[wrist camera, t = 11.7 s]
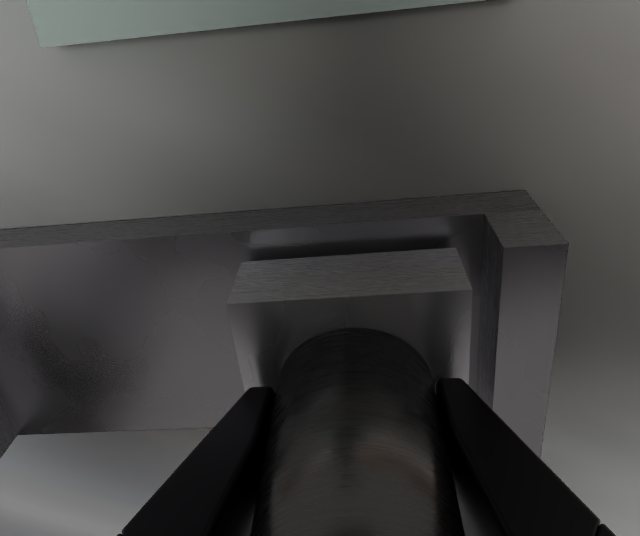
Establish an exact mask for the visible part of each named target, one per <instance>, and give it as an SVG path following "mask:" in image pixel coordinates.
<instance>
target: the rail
mask: <svg viewBox="0 0 640 536" xmlns="http://www.w3.org/2000/svg"><path fill="white" fill-rule="evenodd" d="M568 245H569V243H568V242H567V241H566V240H565V238H564V237H563V236H562V235H561V234H560V232H559V231H558V230H557V229H556V227H555V226H554V225H553V224H552V222H551V221H550V220H549V219H548V218H547V216H546V215H545V214H544V213H543V211H542V210H541V209H540V208H539V207H538V205H537V204H536V203H535V202H534V200H533V199H532V198H531V197H530V195H529V194H528V193H527V192H526V191H525V190H522V191H509V192H495V193H482V194H469V195H456V196H442V197H429V198H416V199H403V200H389V201H376V202H363V203H349V204H336V205H323V206H310V207H296V208H283V209H270V210H257V211H243V212H230V213H217V214H203V215H190V216H177V217H164V218H150V219H137V220H124V221H111V222H97V223H84V224H71V225H57V226H44V227H31V228H18V229H4V230H0V458H1V457H2V456H3V454H4V453H5V451H6V450H7V449H8V447H9V446H10V444H11V443H12V442H13V440H14V439H15V438H16V436H17V435H28V434H54V433H80V432H107V431H133V430H159V429H185V428H211V427H215V425H216V424H217V423H218V422H219V421H220V420H221V419H222V418H223V417H224V415H225V414H226V413H227V412H228V411H229V410H230V409H231V408H232V406H233V405H234V404H235V403H236V402H237V401H238V400H239V399H240V397H241V396H242V395H243V394H244V393H245V390H244V386H243V381H242V376H241V372H240V367H239V363H238V358H237V353H236V349H235V344H234V339H233V335H232V330H231V326H230V321H229V316H228V312H227V307H226V303H227V300H228V297H229V295H230V292H231V289H232V287H233V284H234V281H235V279H236V276H237V273H238V271H239V268H240V266H241V263H242V262H246V261H261V260H276V259H291V258H306V257H321V256H336V255H351V254H366V253H381V252H396V251H411V250H426V249H441V248H456V249H457V251H458V254H459V256H460V259H461V262H462V264H463V267H464V269H465V272H466V275H467V277H468V280H469V282H470V285H471V287H472V311H471V336H470V361H469V386H470V387H471V388H472V389H473V390H474V391H475V392H476V394H477V395H478V396H479V397H480V398H481V399H482V400H483V401H484V402H485V403H486V404H487V405H488V406H489V407H490V408H491V409H492V410H493V411H494V412H495V413H496V414H497V415H498V416H499V417H500V418H501V419H502V420H503V421H504V422H505V423H506V424H507V425H508V426H509V427H510V428H511V429H512V430H513V431H514V432H515V433H516V434H517V435H518V436H519V437H520V439H521V440H522V441H523V442H524V443H525V444H526V445H527V446H528V447H529V448H530V449H531V450H532V451H533V452H534V453H535V454H536V455H537V456H538V457H539V458H540V456H541V449H542V441H543V434H544V426H545V419H546V411H547V403H548V396H549V388H550V381H551V373H552V366H553V358H554V350H555V343H556V335H557V328H558V320H559V313H560V305H561V297H562V290H563V282H564V275H565V267H566V260H567V252H568Z"/></svg>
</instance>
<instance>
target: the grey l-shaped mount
mask: <svg viewBox="0 0 640 536" xmlns="http://www.w3.org/2000/svg"><path fill="white" fill-rule="evenodd" d="M475 1H484V0H26V2H27V6H28V9H29V12H30V15H31V18H32V21H33V24H34V27H35V30H36V33H37V37H38V40H39V43H40V46H41V48H46V47H55V46H65V45H74V44H83V43H93V42H102V41H111V40H121V39H130V38H139V37H148V36H158V35H167V34H176V33H186V32H195V31H204V30H214V29H223V28H232V27H242V26H251V25H260V24H270V23H279V22H288V21H298V20H307V19H316V18H325V17H335V16H344V15H353V14H363V13H372V12H381V11H391V10H400V9H409V8H419V7H428V6H437V5H447V4H456V3H465V2H475Z"/></svg>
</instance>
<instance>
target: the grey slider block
mask: <svg viewBox="0 0 640 536" xmlns="http://www.w3.org/2000/svg"><path fill="white" fill-rule="evenodd" d="M226 307H227V312H228V316H229V321H230V326H231V330H232V335H233V339H234V344H235V349H236V353H237V358H238V363H239V367H240V372H241V376H242V381H243V386H244V390H245V392H246V391H247V390H248V389H249V388H251V387H262V386H270V387H272V388H273V390H274V393H275V399H274V405H273V410H272V416H271V422H270V427H269V433H268V438H267V444H266V450H265V455H264V461H263V466H262V472H261V478H260V483H259V489H258V494H257V500H256V506H255V511H254V517H253V522H252V528H251V534H250V536H465V532H464V527H463V523H462V518H461V513H460V508H459V503H458V498H457V493H456V488H455V484H454V479H453V474H452V469H451V464H450V459H449V454H448V449H447V445H446V440H445V435H444V430H443V425H442V420H441V415H440V410H439V406H438V401H437V396H436V383H437V381H438V379H441V378H461V379H463V380H464V381H465V382H466V383H467V384H468V385H469V361H470V336H471V311H472V287H471V285H470V282H469V280H468V277H467V275H466V272H465V269H464V267H463V264H462V262H461V259H460V256H459V254H458V251H457V249H456V248H441V249H426V250H411V251H396V252H381V253H366V254H351V255H336V256H321V257H306V258H291V259H276V260H261V261H246V262H242V263H241V266H240V268H239V271H238V273H237V276H236V279H235V281H234V284H233V287H232V289H231V292H230V295H229V297H228V300H227V303H226Z"/></svg>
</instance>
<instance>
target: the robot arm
mask: <svg viewBox="0 0 640 536" xmlns="http://www.w3.org/2000/svg"><path fill="white" fill-rule="evenodd" d="M436 396H437V401H438V406H439V410H440V415H441V420H442V425H443V430H444V435H445V440H446V445H447V449H448V454H449V459H450V464H451V469H452V474H453V479H454V484H455V488H456V493H457V498H458V503H459V508H460V513H461V518H462V523H463V527H464V532H465V536H616V535H615V534H614V533H613V532H612V531H611V530H610V529H609V528H608V527H607V526H606V525H605V524H600V519H599V518H598V517H597V516H596V515H595V514H594V513H593V512H592V511H591V510H590V509H589V508H588V507H587V506H586V505H585V504H584V503H583V502H582V501H581V500H580V499H579V498H578V497H577V496H576V495H575V494H574V493H573V492H572V491H571V490H570V489H569V488H568V487H567V486H566V485H565V484H564V482H563V481H562V480H561V479H560V478H559V477H558V476H557V475H556V474H555V473H554V472H553V471H552V470H551V469H550V468H549V467H548V466H547V465H546V464H545V463H544V462H543V461H542V460H541V459H540V458H539V457H538V456H537V455H536V454H535V453H534V452H533V451H532V450H531V449H530V448H529V447H528V446H527V445H526V444H525V443H524V442H523V441H522V440H521V439H520V437H519V436H518V435H517V434H516V433H515V432H514V431H513V430H512V429H511V428H510V427H509V426H508V425H507V424H506V423H505V422H504V421H503V420H502V419H501V418H500V417H499V416H498V415H497V414H496V413H495V412H494V411H493V410H492V409H491V408H490V407H489V406H488V405H487V404H486V403H485V402H484V401H483V400H482V399H481V398H480V397H479V396H478V395H477V394H476V392H475V391H474V390H473V389H472V388H471V387H470V386H469V385H468V384H467V383H466V382H465V381H464V380H463V379H461V378H441V379H438V381H437V383H436ZM274 399H275V393H274V390H273V388H272V387H270V386H262V387H251V388H249V389H248V390H247V391H246V392H245V393H244V394H243V395H242V396H241V397H240V399H239V400H238V401H237V402H236V403H235V404H234V405H233V406H232V408H231V409H230V410H229V411H228V412H227V413H226V414H225V415H224V417H223V418H222V419H221V420H220V421H219V422H218V423H217V424H216V425H215V427H214V428H213V429H212V430H211V431H210V432H209V433H208V434H207V436H206V437H205V438H204V439H203V440H202V441H201V442H200V443H199V445H198V446H197V447H196V448H195V449H194V450H193V451H192V452H191V453H190V455H189V456H188V457H187V458H186V459H185V460H184V461H183V462H182V464H181V465H180V466H179V467H178V468H177V469H176V470H175V471H174V473H173V474H172V475H171V476H170V477H169V478H168V479H167V480H166V481H165V483H164V484H163V485H162V486H161V487H160V488H159V489H158V490H157V492H156V493H155V494H154V495H153V496H152V497H151V498H150V499H149V501H148V502H147V503H146V504H145V505H144V506H143V507H142V508H141V509H140V511H139V512H138V513H137V514H136V515H135V516H134V517H133V518H132V520H131V521H130V522H129V523H128V524H127V525H126V526H125V527H124V529H123V530H122V534H123V535H122V534H118V535H117V536H250V534H251V528H252V522H253V517H254V511H255V506H256V500H257V494H258V489H259V483H260V478H261V472H262V466H263V461H264V455H265V450H266V444H267V438H268V433H269V427H270V422H271V416H272V410H273V405H274Z"/></svg>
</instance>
